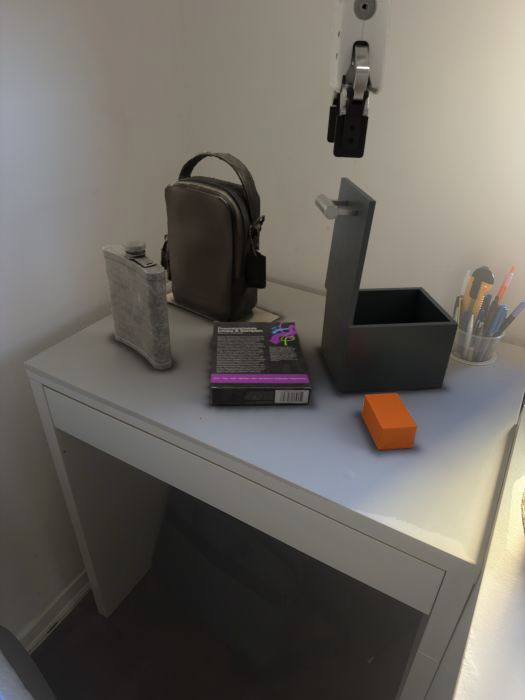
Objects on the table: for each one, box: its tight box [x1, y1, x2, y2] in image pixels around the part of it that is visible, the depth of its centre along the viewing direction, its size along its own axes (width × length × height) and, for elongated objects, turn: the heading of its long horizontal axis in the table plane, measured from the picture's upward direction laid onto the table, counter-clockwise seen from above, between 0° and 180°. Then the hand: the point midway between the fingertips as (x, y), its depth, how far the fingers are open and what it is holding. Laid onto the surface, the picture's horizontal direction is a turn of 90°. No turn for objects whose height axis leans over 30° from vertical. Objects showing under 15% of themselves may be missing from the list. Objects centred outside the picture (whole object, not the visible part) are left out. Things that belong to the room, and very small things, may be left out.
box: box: [209, 320, 312, 405], centre depth 77 cm, size 14×4×20 cm
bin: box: [320, 286, 459, 394], centre depth 76 cm, size 16×13×11 cm
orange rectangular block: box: [361, 392, 418, 451], centre depth 64 cm, size 7×4×4 cm, turn 7°
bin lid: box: [314, 176, 377, 325], centre depth 67 cm, size 16×13×5 cm
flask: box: [102, 239, 173, 371], centre depth 77 cm, size 4×14×18 cm, turn 44°
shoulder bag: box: [159, 150, 280, 322], centre depth 88 cm, size 23×9×28 cm, turn 53°
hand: (343, 149), depth 57 cm, fingers open, 9 cm apart
